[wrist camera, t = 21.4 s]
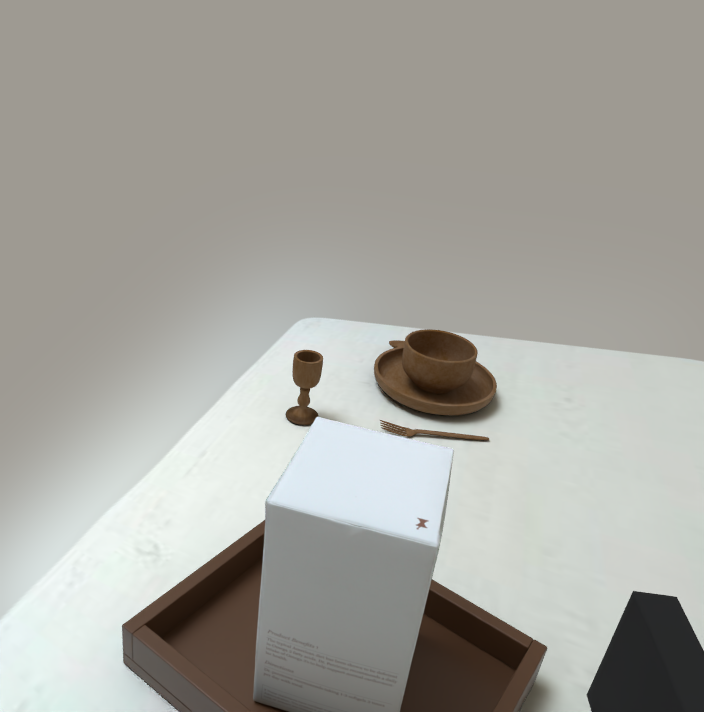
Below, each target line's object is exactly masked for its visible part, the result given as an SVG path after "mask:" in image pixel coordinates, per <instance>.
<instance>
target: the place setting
mask: <svg viewBox="0 0 704 712" xmlns="http://www.w3.org/2000/svg"><path fill="white" fill-rule="evenodd" d="M389 344H390V345H391V346H392V347H394V348H393V349H390V350H388V351H386V352H384V353H382V354H381V355H380V356H379V357H378V358H377V359H376V361H375V365H374V374H375V378H376V381H377V383H378V384H379V386H380V387H381V389H382V390H383V391H384V392H385V393H386V394H387V395H388V396H390V397H391V398H392V399H394V400H396V401H397V402H399V403H401V404H403V405H405V406H407V407H410V408H412V409H415V410H418V411H421V412H425V413H430V414H436V415H464V414H469V413H472V412H475V411H478V410H480V409H482V408H483V407H485V406H486V405H488V404H489V403H490V401H491V400H492V399H493V397H494V395H495V392H496V388H497V385H496V381H495V378H494V377H493V375H492V374H491V373H490V372H489V371H488V370H487V369H486V368H485V367H484V366H482V365H481V364H479V363H478V362H476V358H477V349H476V347H475V346H474V345H473V344H472V343H471V342H470V341H468V340H467V339H465V338H463V337H461V336H459V335H456V334H453V333H450V332H446V331H440V330H418V331H415V332H412V333H410V334H409V335H407V337H406V338H405V341H389ZM322 365H323V356H322V355H321V354H320V353H318V352H316V351H312V350H301V351H298V352H296V353H295V354H294V360H293V380H294V382H295V384H296V385H297V386H299V387H300V395H299V397H298V404H299V406H295V407H292V408H290V409H288V410H287V412H286V417H287V419H288V420H289V421H290V422H292V423H295V424H298V425H310V424H313V422H314V421H315V419H316V417H318V413H317V412H316V411H315V410H314V409H312V408H309V407H307V406H308V405H309V403H310V398H309V391H310V388H313V387H315V386H316V385H317V384H318V382H319V380H320V377H321V372H322ZM380 421H382V420H380ZM382 422H384V423H387V424H384V423H381V424H383V425H386V426H383V425H381V426H383V427H385V428H382V427H381V428H382V429H385V430H387V431H390V432H393V433H396V434H399V435H402V436H407V437H410V436H413V435H415V434H418V433H421V434H430V435H438V436H446V437H455V438H463V439H473V440H489V438H487V437H482V436H474V435H465V434H456V433H447V432H439V431H429V430H418V429H416V430H412V429H409V428H405V427H401V426H398V425H395V424H392V423H388V422H385V421H382ZM388 424H389V425H388ZM391 425H392V426H391ZM387 426H389V427H387ZM394 426H395V427H394ZM390 427H392V428H390ZM397 427H399V428H397ZM386 428H388V429H386ZM393 428H395V429H393ZM400 428H402V429H400ZM389 429H391V430H389ZM396 429H398V430H396ZM404 429H405V430H404ZM392 430H394V431H392ZM399 430H401V431H399ZM395 431H397V432H395ZM403 431H405V432H403ZM398 432H400V433H398ZM402 433H403V434H402ZM406 434H407V435H406Z"/></svg>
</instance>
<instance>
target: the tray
mask: <svg viewBox="0 0 704 712" xmlns="http://www.w3.org/2000/svg"><path fill="white" fill-rule="evenodd" d="M264 536H265V520H264V521H263V522H261V523H260V524H259V525H257V526H256V527H255V528H253V529H252V530H250V531H249V532H248V533H246V534H245V535H244V536H242V537H241V538H240V539H238V540H237V541H236V542H234V543H233V544H232V545H230V546H229V547H227V548H226V549H225V550H223V551H222V552H221V553H219V554H218V555H217V556H215V557H214V558H213V559H211V560H210V561H208V562H207V563H206V564H204V565H203V566H202V567H200V568H199V569H198V570H196V571H195V572H194V573H192V574H191V575H190V576H188V577H187V578H185V579H184V580H183V581H181V582H180V583H179V584H177V585H176V586H175V587H173V588H172V589H171V590H169V591H168V592H166V593H165V594H164V595H162V596H161V597H160V598H158V599H157V600H156V601H154V602H153V603H152V604H150V605H149V606H147V607H146V608H145V609H143V610H142V611H141V612H139V613H138V614H137V615H135V616H134V617H133V618H131V619H130V620H129V621H127V622H126V623H124V624H123V625H122V636H123V661H124V663H125V664H126V665H127V666H128V667H129V668H130V669H132V670H133V671H134V672H135V673H136V674H137V675H138V676H140V677H141V678H142V679H143V680H144V681H145V682H146V683H148V684H149V685H150V686H151V687H152V688H153V689H155V690H156V691H157V692H158V693H159V694H160V695H161V696H163V697H164V698H165V699H166V700H167V701H168V702H169V703H171V704H172V705H173V706H174V707H175V708H176V709H177V710H179V711H180V712H288V711H285V710H282V709H279V708H276V707H272V706H269V705H266V704H262V703H259V702H256V701H254V700H253V692H254V675H255V655H256V640H257V627H258V614H259V600H260V589H261V576H262V563H263V550H264ZM546 651H547V647H546V646H545V645H543V644H541V643H540V642H538V641H536V640H533V639H532V638H531V637H529V636H527V635H526V634H524V633H522V632H521V631H519V630H517V629H516V628H514V627H512V626H510V625H509V624H507V623H505V622H504V621H502V620H500V619H499V618H497V617H495V616H493V615H492V614H490V613H488V612H487V611H485V610H483V609H482V608H480V607H478V606H476V605H475V604H473V603H471V602H470V601H468V600H466V599H464V598H463V597H461V596H459V595H458V594H456V593H454V592H453V591H451V590H449V589H447V588H446V587H444V586H442V585H441V584H439V583H437V582H436V581H434V580H431V584H430V588H429V592H428V596H427V600H426V604H425V609H424V613H423V617H422V621H421V625H420V629H419V633H418V637H417V641H416V645H415V650H414V654H413V658H412V662H411V666H410V671H409V675H408V679H407V683H406V687H405V692H404V696H403V700H402V704H401V709H400V712H519V711H520V709H521V707H522V705H523V703H524V701H525V699H526V697H527V695H528V694H529V692H530V690H531V688H532V686H533V684H534V682H535V680H536V677H537V675H538V672H539V669H540V666H541V664H542V661H543V659H544V656H545V653H546Z"/></svg>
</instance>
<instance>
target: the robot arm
mask: <svg viewBox="0 0 704 712" xmlns="http://www.w3.org/2000/svg"><path fill="white" fill-rule="evenodd" d="M587 697H588V701H589V704H590V707H591V711H592V712H704V651H703V649H702V647H701V645H700V643H699V641H698V639H697V637H696V635H695V633H694V631H693V629H692V627H691V625H690V623H689V621H688V619H687V617H686V615H685V613H684V611H683V609H682V607H681V605H680V603H679V601H678V599H677V597H673V596H666V595H658V594H651V593H644V592H636V591H633V593H632V595H631V597H630V599H629V601H628V604H627V606H626V608H625V610H624V613H623V615H622V617H621V619H620V622H619V624H618V626H617V628H616V631H615V633H614V635H613V637H612V640H611V642H610V644H609V646H608V649H607V651H606V653H605V655H604V657H603V660H602V662H601V664H600V666H599V669H598V671H597V673H596V675H595V678H594V680H593V682H592V684H591V687H590V689H589V691H588V693H587Z"/></svg>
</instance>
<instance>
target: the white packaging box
mask: <svg viewBox="0 0 704 712" xmlns="http://www.w3.org/2000/svg"><path fill="white" fill-rule="evenodd" d="M453 453H454V450H453V449H452V448H448V447H444V446H439V445H434V444H430V443H426V442H421V441H417V440H413V439H408V438H404V437H400V436H396V435H391V434H387V433H383V432H379V431H375V430H370V429H366V428H362V427H358V426H354V425H349V424H345V423H341V422H337V421H333V420H329V419H325V418H321V417H316V419H315V421H314V422H313V424H312V426H311V428H310V429H309V431H308V433H307V435H306V436H305V438H304V440H303V442H302V443H301V445H300V447H299V448H298V450H297V451H296V453H295V455H294V456H293V458H292V459H291V461H290V463H289V464H288V466H287V467H286V469H285V471H284V472H283V474H282V475H281V477H280V478H279V480H278V482H277V483H276V485H275V486H274V488H273V490H272V491H271V493H270V494H269V496H268V497H267V499H266V502H265V536H264V550H263V563H262V576H261V589H260V600H259V614H258V627H257V640H256V655H255V675H254V692H253V700H254V701H256V702H259V703H262V704H266V705H269V706H272V707H276V708H279V709H282V710H285V711H288V712H400V709H401V704H402V700H403V696H404V692H405V687H406V683H407V679H408V675H409V671H410V666H411V662H412V658H413V654H414V650H415V645H416V641H417V637H418V633H419V629H420V625H421V621H422V617H423V613H424V609H425V604H426V600H427V596H428V592H429V588H430V584H431V580H432V576H433V572H434V567H435V563H436V559H437V555H438V551H439V546H440V541H441V536H442V531H443V525H444V519H445V512H446V505H447V498H448V491H449V483H450V475H451V468H452V460H453Z"/></svg>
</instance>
